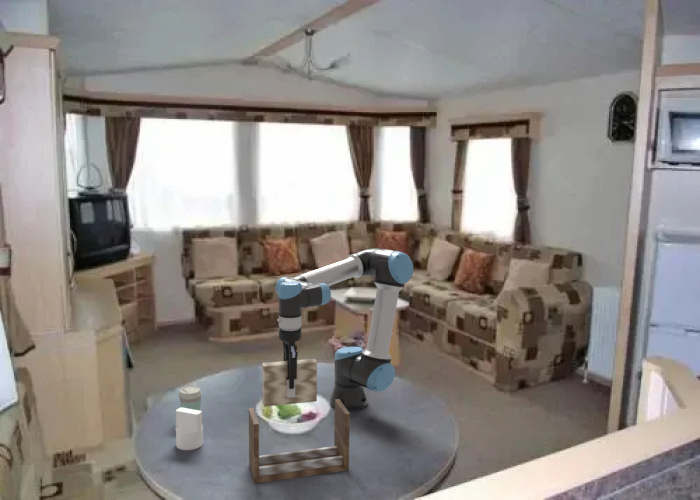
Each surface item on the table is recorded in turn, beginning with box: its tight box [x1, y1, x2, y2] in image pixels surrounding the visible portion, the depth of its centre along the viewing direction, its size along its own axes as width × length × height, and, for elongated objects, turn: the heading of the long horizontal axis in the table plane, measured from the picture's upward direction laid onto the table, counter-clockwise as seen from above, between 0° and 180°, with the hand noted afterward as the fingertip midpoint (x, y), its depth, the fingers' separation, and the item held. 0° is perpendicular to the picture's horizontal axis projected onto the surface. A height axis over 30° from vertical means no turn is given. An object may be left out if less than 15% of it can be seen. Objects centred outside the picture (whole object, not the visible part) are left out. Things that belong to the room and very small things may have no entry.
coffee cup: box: [178, 385, 203, 411], centre depth 218 cm, size 8×8×12 cm
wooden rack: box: [248, 399, 351, 484], centre depth 185 cm, size 30×12×19 cm, turn 107°
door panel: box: [261, 358, 318, 408], centre depth 197 cm, size 18×4×14 cm, turn 107°
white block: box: [175, 406, 204, 451], centre depth 200 cm, size 9×9×12 cm
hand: (289, 394), depth 198 cm, fingers closed on door panel, 3 cm apart
